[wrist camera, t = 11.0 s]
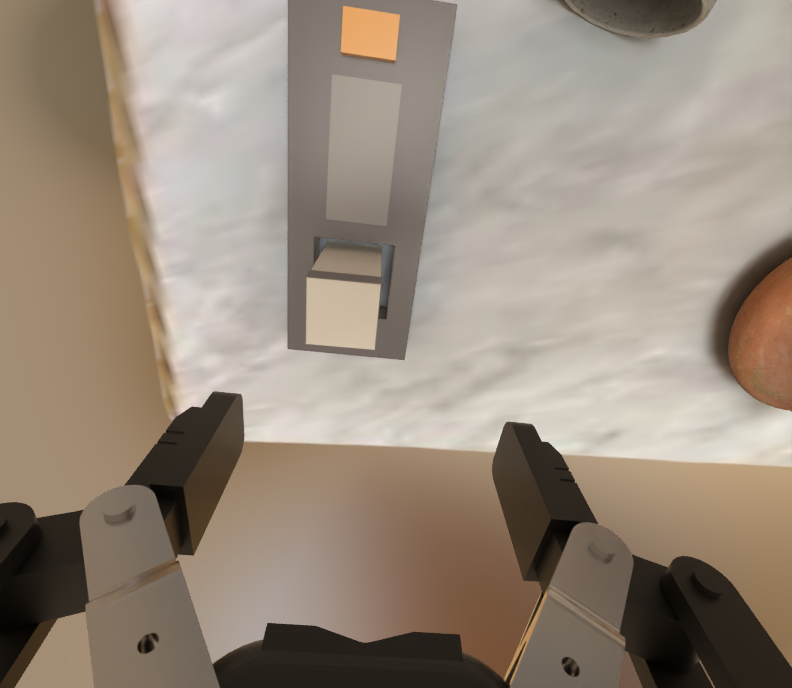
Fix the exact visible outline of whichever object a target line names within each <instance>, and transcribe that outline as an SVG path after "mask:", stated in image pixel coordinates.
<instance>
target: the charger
mask: <svg viewBox="0 0 792 688" xmlns="http://www.w3.org/2000/svg"><path fill="white" fill-rule="evenodd" d="M381 265H382V246H373V245H363V244H354V243H344V242H334V241H328V242H327V244H326V245H325V247H324V249H323V250H322V252H321V254H320V256H319V257H318V259H317V261H316V263H315V264H314V266H313V268H312V269H311V270H309V272H308V274H307V275H306V335H305V344H312V345H324V346H335V347H347V348H359V349H370V350H375V349H376V338H377V328H378V318H379V307H380V297H381V286H382V277H381Z"/></svg>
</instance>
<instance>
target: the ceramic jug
mask: <svg viewBox="0 0 792 688" xmlns="http://www.w3.org/2000/svg"><path fill="white" fill-rule="evenodd" d="M728 358H729V363H730V367H731V370H732V372H733V374H734V376H735V378H736V380H737V381H738V383H739V384H740V385H741V387H742V388H743V389H744V390H745V391H746V392H748V393H749V394H750V395H751V396H752V397H754V398H755V399H757V400H759V401H761V402H763V403H765V404H767V405H770V406H773V407H776V408H780V409H784V410H790V411H792V257H791V258H789V259H788V260H786V261H785V262H783V263H782V264H781V265H779V266H778V267H777V268H775V269H774V270H773V271H772V272H770V273H769V274H768V275H767V276H766V277H765V278H764V279H763V280H762V281H761V282H760V283H759V284H758V285H757V286H756V287H755V288H754V289H753V291H752V292H751V293H750V294H749V296H748V297H747V298H746V300H745V301H744V303H743V304H742V306H741V308H740V310H739V311H738V313H737V315H736V318H735V320H734V322H733V325H732V328H731V332H730V336H729V342H728Z"/></svg>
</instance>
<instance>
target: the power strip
mask: <svg viewBox="0 0 792 688" xmlns="http://www.w3.org/2000/svg"><path fill="white" fill-rule="evenodd" d="M456 10H457V4H451V3H445V2H439V1H433V0H288V349H294V350H305V351H315V352H325V353H336V354H346V355H357V356H367V357H378V358H388V359H399V360H404V359H405V353H406V346H407V339H408V332H409V326H410V319H411V312H412V306H413V299H414V292H415V285H416V279H417V272H418V265H419V258H420V252H421V245H422V238H423V232H424V225H425V218H426V211H427V205H428V198H429V191H430V184H431V178H432V171H433V164H434V158H435V151H436V144H437V137H438V131H439V124H440V117H441V110H442V104H443V97H444V90H445V84H446V77H447V70H448V63H449V57H450V50H451V43H452V36H453V30H454V23H455V16H456ZM319 237H325V238H333V239H342V240H351V241H359V242H368V243H376V244H385V245H394V249H393V258H392V266H391V275H390V283H389V291H388V300H387V307H379V318H378V328H377V338H376V349H375V350H370V349H359V348H347V347H335V346H324V345H312V344H305V335H306V275H307V274H308V272H309V270H311V269H312V268H313V266H314V264H315V263H316V261H317V259H318V257H319Z"/></svg>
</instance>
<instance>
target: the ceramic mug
mask: <svg viewBox="0 0 792 688" xmlns="http://www.w3.org/2000/svg"><path fill="white" fill-rule="evenodd" d="M565 1H566V3H567V4H568V6H569V7H570V8H571V9H572V10H573V11H575V12H576V13H577V14H579V15H580V16H582V17H584V18H585V19H586V20H588V21H589V22H591V23H593V24H595V25H597V26H599V27H602V28H604V29H606V30H609V31H613V32H615V33H619V34H625V35H629V36H633V37H644V38H655V37H667V36H672V35H676V34H680V33H684V32H687V31H689V30H690V29H692V28H694V27H696V26H697V25H698V24H700V23H701V22H702V21H703V20H704V19H705V18H706V17H707V15H708V14H709V12H710V11H711V9H712V8H713V6H714V4H715V2H716V0H565Z"/></svg>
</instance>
